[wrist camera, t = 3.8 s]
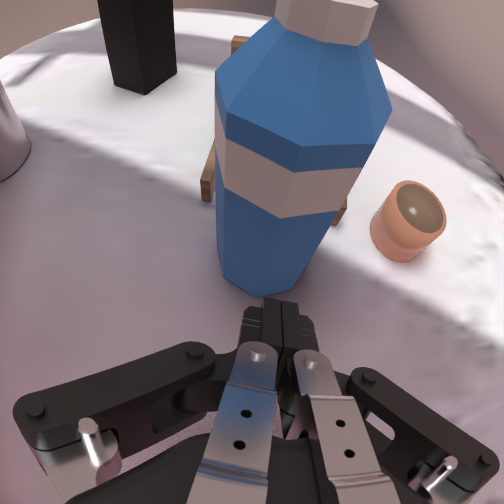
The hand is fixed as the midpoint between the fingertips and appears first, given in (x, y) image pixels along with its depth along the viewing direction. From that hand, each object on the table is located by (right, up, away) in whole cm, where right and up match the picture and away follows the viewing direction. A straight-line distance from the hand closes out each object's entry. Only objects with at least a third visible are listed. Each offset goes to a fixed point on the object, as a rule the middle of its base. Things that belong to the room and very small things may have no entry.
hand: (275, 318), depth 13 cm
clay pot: (+16, +5, +20) cm, 26 cm away
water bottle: (0, +3, +18) cm, 18 cm away
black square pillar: (-19, +32, +30) cm, 47 cm away
